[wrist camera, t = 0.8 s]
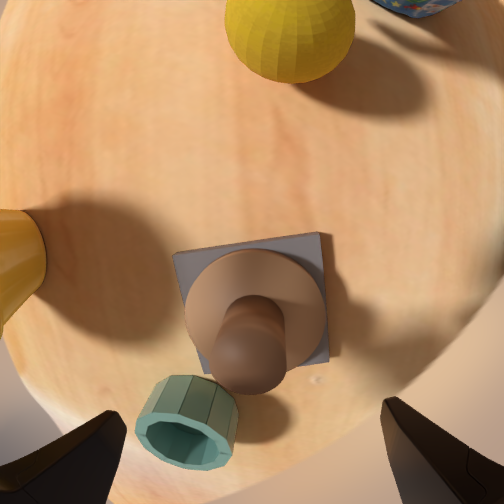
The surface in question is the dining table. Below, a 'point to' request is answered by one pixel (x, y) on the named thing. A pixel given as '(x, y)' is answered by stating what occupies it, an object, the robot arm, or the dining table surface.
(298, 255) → the mat
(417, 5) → the snack cup
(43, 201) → the dining table surface
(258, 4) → the lemon
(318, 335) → the lid
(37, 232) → the plant pot
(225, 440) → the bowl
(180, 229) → the dining table surface
